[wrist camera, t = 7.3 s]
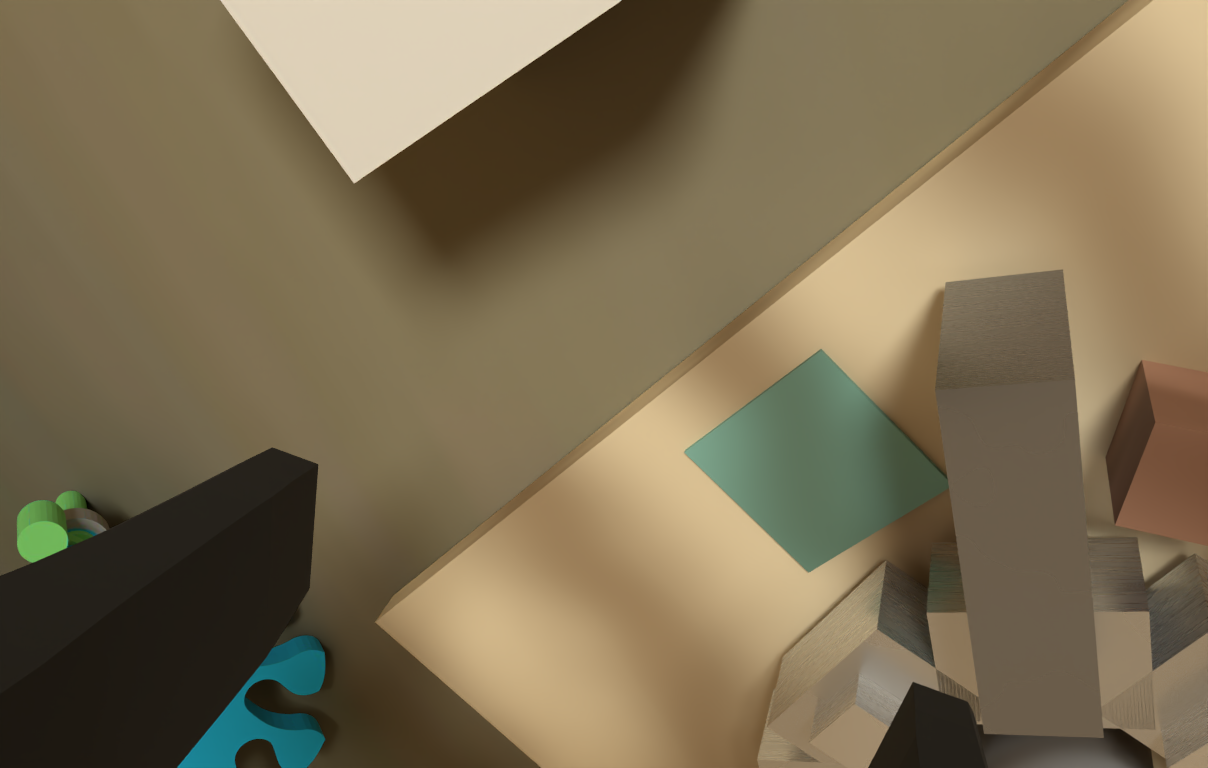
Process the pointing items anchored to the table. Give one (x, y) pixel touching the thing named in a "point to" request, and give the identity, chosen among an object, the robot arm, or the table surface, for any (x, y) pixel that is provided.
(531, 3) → the cream cube
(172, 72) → the table surface
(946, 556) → the faceted metal ring
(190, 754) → the gear
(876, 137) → the table surface
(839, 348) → the beige square board
